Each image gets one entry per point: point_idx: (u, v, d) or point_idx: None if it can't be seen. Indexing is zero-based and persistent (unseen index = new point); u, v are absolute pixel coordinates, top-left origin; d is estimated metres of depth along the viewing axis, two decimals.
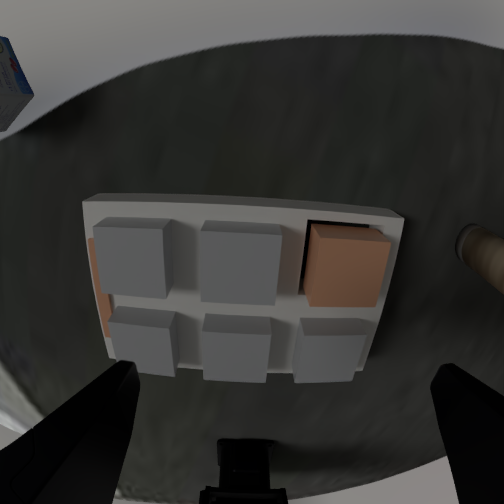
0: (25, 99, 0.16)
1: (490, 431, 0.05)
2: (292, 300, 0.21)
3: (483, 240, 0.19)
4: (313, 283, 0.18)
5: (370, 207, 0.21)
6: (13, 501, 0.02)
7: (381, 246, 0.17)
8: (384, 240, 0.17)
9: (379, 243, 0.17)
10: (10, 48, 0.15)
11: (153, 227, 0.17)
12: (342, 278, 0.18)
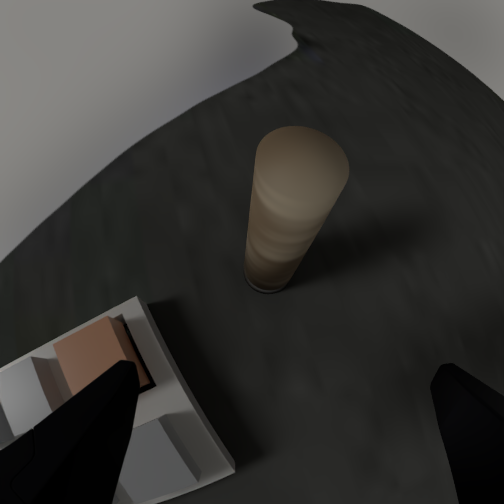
0: None
1: (490, 431, 0.05)
2: None
3: None
4: (70, 387, 0.15)
5: None
6: (13, 501, 0.02)
7: (100, 323, 0.16)
8: (104, 318, 0.17)
9: (97, 322, 0.16)
10: None
11: None
12: (87, 370, 0.15)
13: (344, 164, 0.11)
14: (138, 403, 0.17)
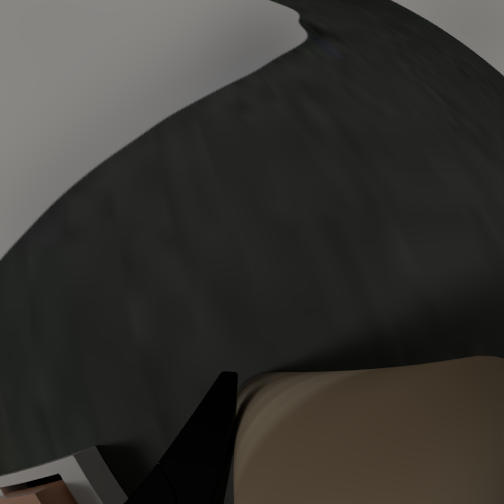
0: None
1: None
2: None
3: None
4: None
5: (71, 454, 0.11)
6: None
7: (29, 500, 0.07)
8: (32, 493, 0.07)
9: (25, 497, 0.07)
10: None
11: None
12: None
13: None
14: None
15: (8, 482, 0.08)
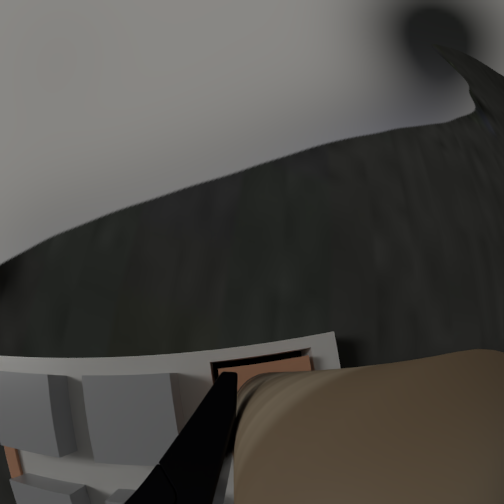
0: None
1: None
2: None
3: None
4: None
5: None
6: None
7: (297, 362, 0.14)
8: None
9: (293, 360, 0.14)
10: None
11: (41, 374, 0.12)
12: None
13: None
14: None
15: (230, 356, 0.15)
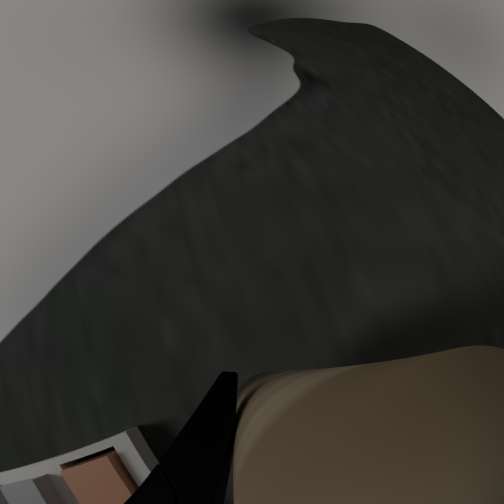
0: None
1: None
2: None
3: None
4: None
5: (118, 433, 0.18)
6: None
7: (101, 461, 0.14)
8: (104, 456, 0.15)
9: (98, 460, 0.14)
10: None
11: None
12: (95, 496, 0.13)
13: None
14: None
15: (68, 459, 0.15)
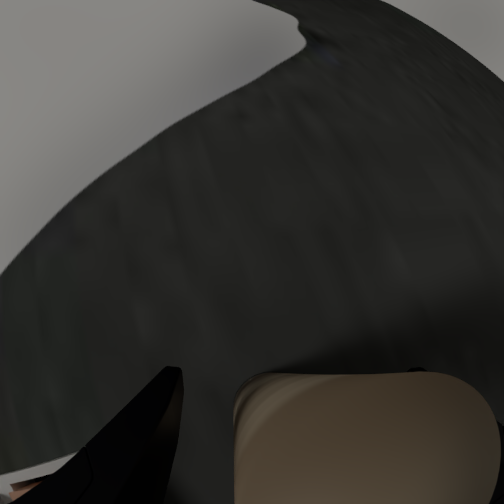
0: None
1: None
2: None
3: (235, 403, 0.12)
4: None
5: None
6: None
7: None
8: None
9: None
10: None
11: None
12: None
13: (491, 476, 0.02)
14: None
15: (18, 478, 0.09)
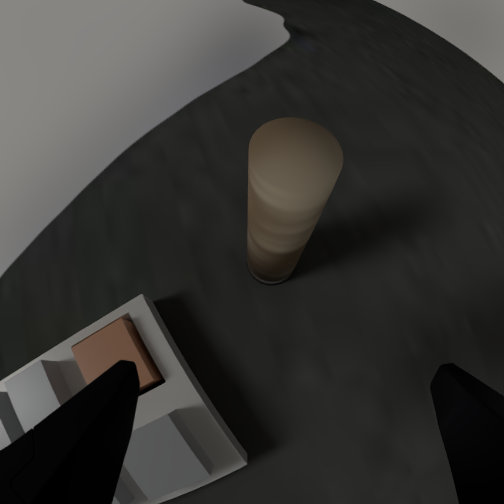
0: None
1: (490, 431, 0.05)
2: None
3: None
4: None
5: None
6: (13, 501, 0.02)
7: (115, 326, 0.18)
8: (118, 321, 0.18)
9: (112, 325, 0.18)
10: None
11: None
12: (104, 370, 0.17)
13: (338, 153, 0.11)
14: (148, 400, 0.17)
15: (81, 337, 0.18)
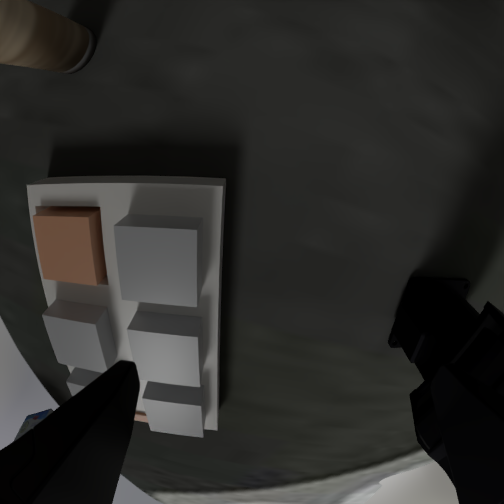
0: None
1: (490, 431, 0.05)
2: (115, 289, 0.19)
3: None
4: (77, 282, 0.18)
5: None
6: (13, 501, 0.02)
7: (36, 225, 0.16)
8: (35, 220, 0.16)
9: (35, 227, 0.16)
10: (30, 416, 0.29)
11: None
12: (66, 258, 0.17)
13: None
14: (109, 233, 0.17)
15: None
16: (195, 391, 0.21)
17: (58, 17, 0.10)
